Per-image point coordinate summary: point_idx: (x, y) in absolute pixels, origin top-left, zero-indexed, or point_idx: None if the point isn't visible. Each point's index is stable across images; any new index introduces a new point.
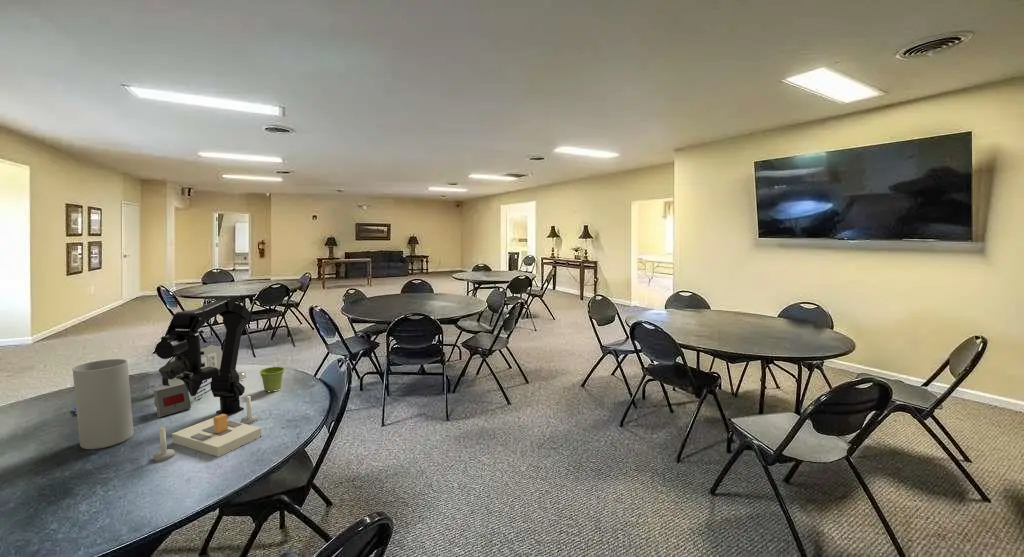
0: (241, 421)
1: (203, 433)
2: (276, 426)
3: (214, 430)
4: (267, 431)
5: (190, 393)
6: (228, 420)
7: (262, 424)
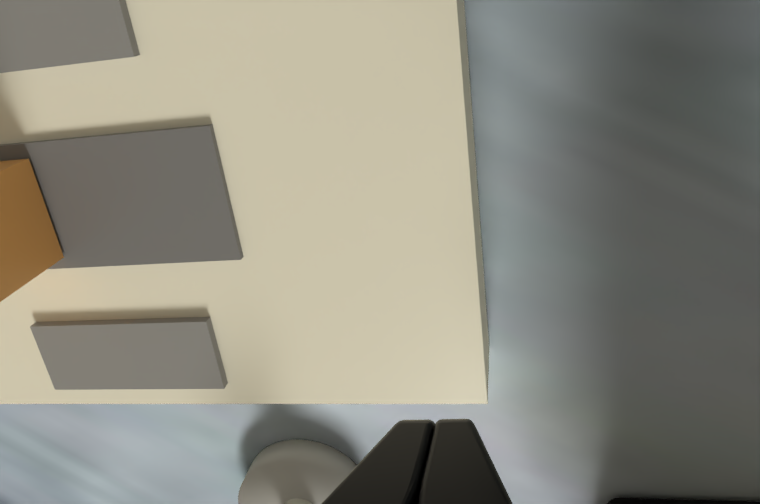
0: (312, 455)
1: (112, 90)
2: (47, 496)
3: (6, 165)
4: (5, 426)
5: (444, 466)
6: (264, 391)
7: (161, 485)
